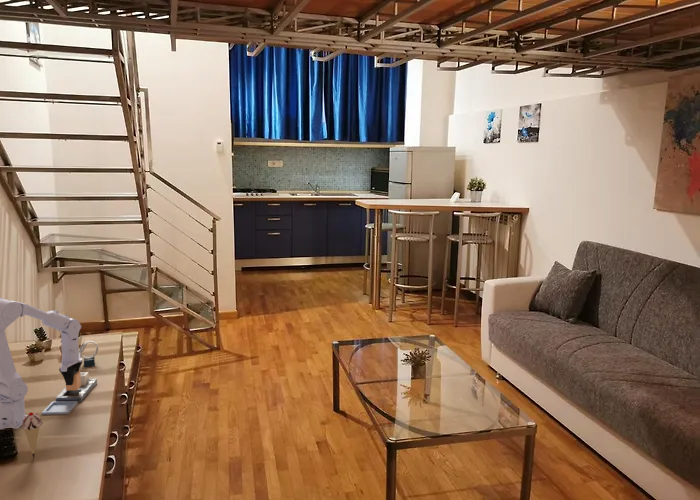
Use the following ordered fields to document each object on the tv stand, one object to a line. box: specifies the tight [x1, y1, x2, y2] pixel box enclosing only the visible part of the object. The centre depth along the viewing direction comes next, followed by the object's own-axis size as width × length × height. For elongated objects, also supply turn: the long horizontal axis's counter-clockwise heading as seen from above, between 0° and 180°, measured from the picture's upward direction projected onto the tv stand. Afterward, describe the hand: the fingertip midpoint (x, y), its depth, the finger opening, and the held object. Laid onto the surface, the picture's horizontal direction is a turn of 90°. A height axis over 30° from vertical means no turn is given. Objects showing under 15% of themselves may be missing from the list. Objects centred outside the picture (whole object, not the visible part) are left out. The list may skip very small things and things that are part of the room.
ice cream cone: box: [20, 412, 44, 458], centre depth 161 cm, size 6×6×15 cm
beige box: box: [80, 371, 90, 385], centre depth 212 cm, size 4×4×6 cm
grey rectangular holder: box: [55, 377, 98, 403], centre depth 207 cm, size 18×9×2 cm, turn 8°
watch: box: [79, 339, 99, 368], centre depth 236 cm, size 6×8×11 cm
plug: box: [65, 370, 81, 390], centre depth 201 cm, size 4×4×6 cm
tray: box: [41, 400, 79, 416], centre depth 193 cm, size 9×9×1 cm
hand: (71, 382), depth 201 cm, fingers closed on plug, 4 cm apart
